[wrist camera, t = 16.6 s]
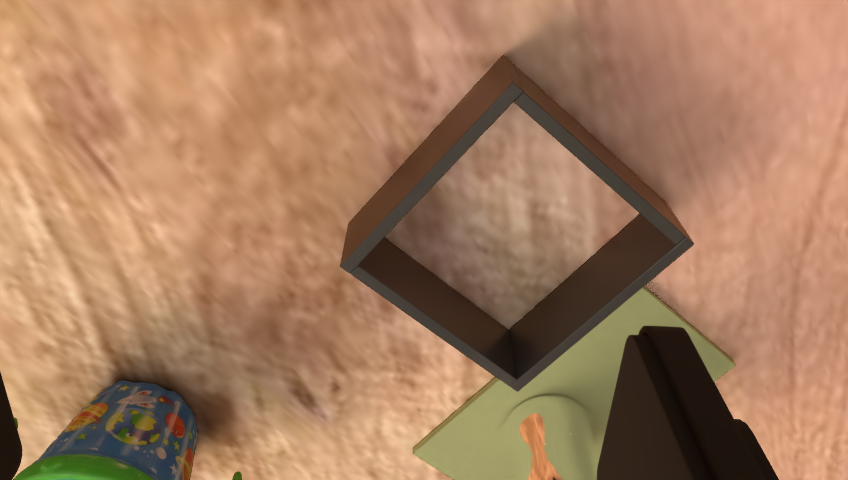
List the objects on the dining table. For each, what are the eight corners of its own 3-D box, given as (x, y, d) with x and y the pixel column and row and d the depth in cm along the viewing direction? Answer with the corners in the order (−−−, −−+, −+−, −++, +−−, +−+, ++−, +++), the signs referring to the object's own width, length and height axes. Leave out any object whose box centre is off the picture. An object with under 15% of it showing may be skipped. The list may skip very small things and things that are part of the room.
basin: (503, 54, 39) (513, 81, 34) (667, 203, 43) (695, 244, 39) (347, 223, 44) (339, 266, 39) (509, 342, 48) (517, 392, 43)
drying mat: (622, 267, 45) (624, 272, 45) (733, 360, 48) (736, 365, 48) (412, 448, 52) (412, 454, 52) (522, 517, 56) (522, 523, 55)
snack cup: (18, 433, 52) (-67, 557, 43) (47, 322, 47) (-42, 435, 38) (229, 499, 55) (191, 627, 46) (276, 401, 50) (244, 522, 41)
